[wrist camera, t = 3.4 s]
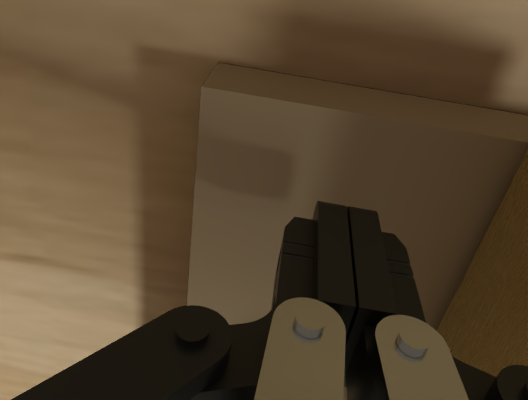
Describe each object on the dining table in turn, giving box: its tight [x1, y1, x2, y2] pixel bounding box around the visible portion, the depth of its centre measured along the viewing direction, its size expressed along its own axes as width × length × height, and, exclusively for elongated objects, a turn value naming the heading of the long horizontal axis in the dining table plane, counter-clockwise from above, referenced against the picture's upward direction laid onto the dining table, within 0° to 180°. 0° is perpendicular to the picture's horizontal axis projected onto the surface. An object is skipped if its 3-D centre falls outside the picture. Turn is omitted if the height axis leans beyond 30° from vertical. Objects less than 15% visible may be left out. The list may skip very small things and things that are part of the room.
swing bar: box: [437, 151, 528, 377], centre depth 12 cm, size 16×5×5 cm, turn 172°
